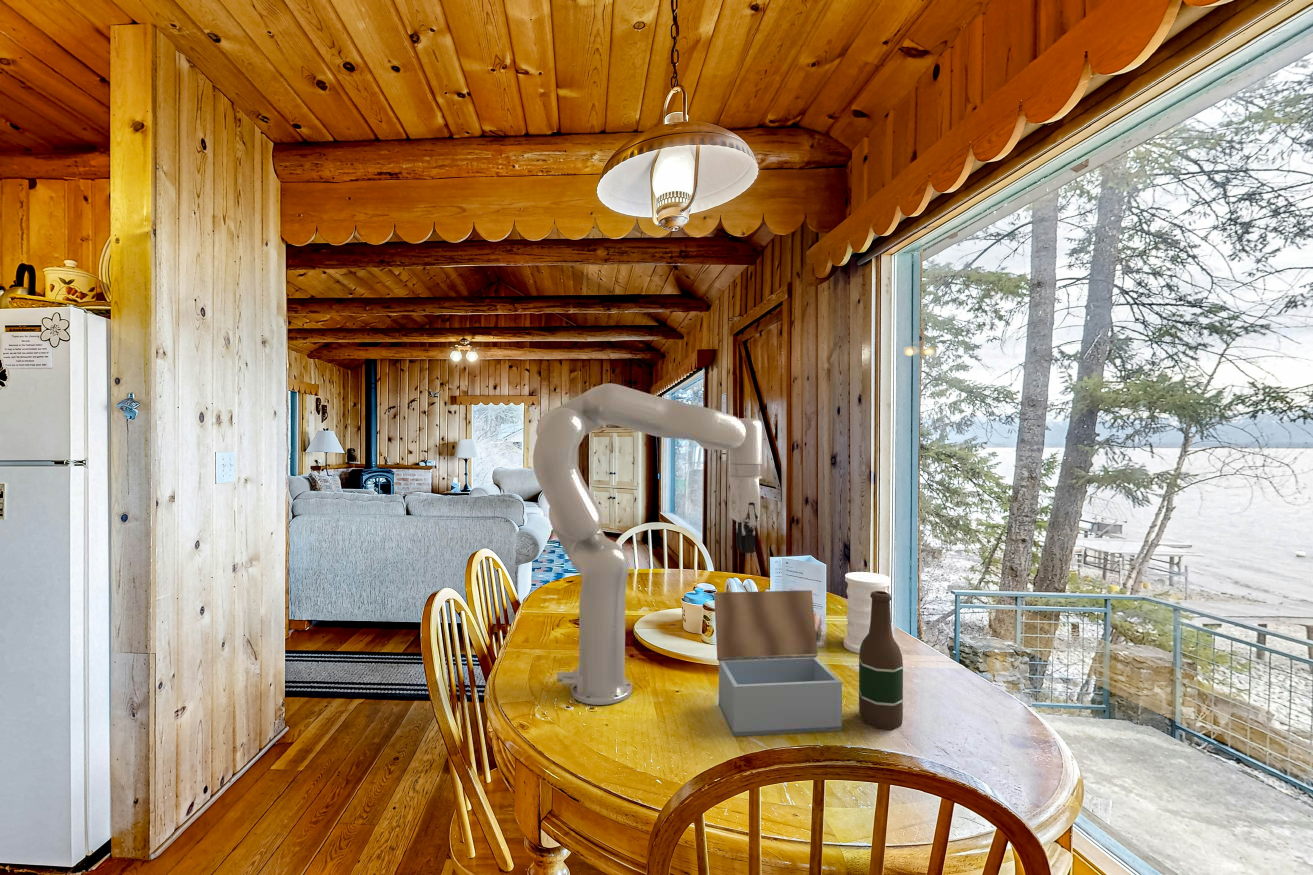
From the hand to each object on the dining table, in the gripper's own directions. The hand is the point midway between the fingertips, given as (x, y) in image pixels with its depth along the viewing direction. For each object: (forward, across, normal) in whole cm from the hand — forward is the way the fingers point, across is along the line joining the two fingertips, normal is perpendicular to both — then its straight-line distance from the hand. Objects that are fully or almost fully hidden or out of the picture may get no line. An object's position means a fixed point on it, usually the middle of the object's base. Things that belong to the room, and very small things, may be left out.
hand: (745, 550), depth 128 cm
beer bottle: (+27, +26, +19) cm, 42 cm away
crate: (+27, +23, 0) cm, 36 cm away
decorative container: (+27, -10, +35) cm, 46 cm away
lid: (+12, +16, 0) cm, 20 cm away
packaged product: (+28, -21, +23) cm, 42 cm away
